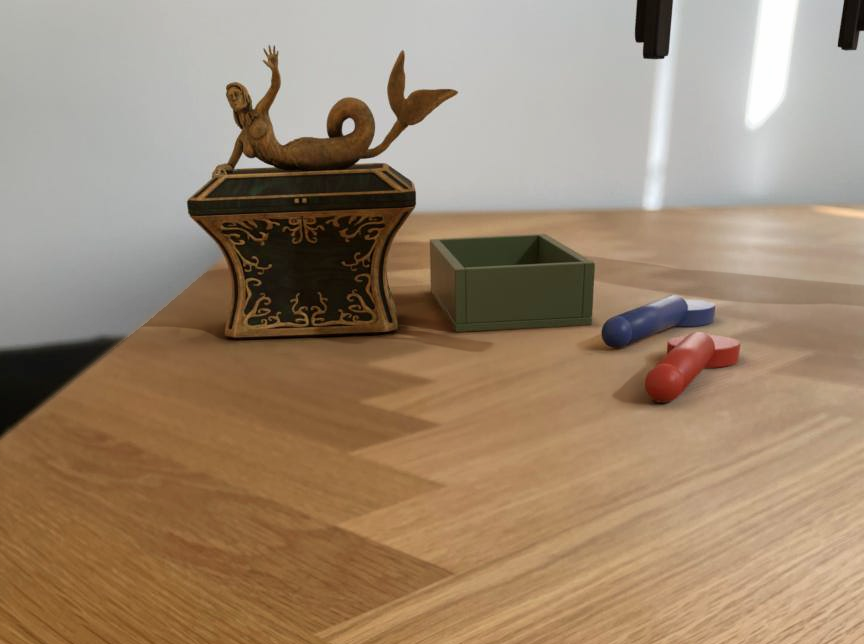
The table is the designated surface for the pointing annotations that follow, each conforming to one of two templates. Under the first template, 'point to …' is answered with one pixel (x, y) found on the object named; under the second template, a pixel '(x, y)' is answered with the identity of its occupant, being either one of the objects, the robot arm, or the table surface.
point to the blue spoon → (655, 320)
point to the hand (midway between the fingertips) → (748, 54)
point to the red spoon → (688, 363)
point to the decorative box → (311, 217)
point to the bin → (511, 282)
